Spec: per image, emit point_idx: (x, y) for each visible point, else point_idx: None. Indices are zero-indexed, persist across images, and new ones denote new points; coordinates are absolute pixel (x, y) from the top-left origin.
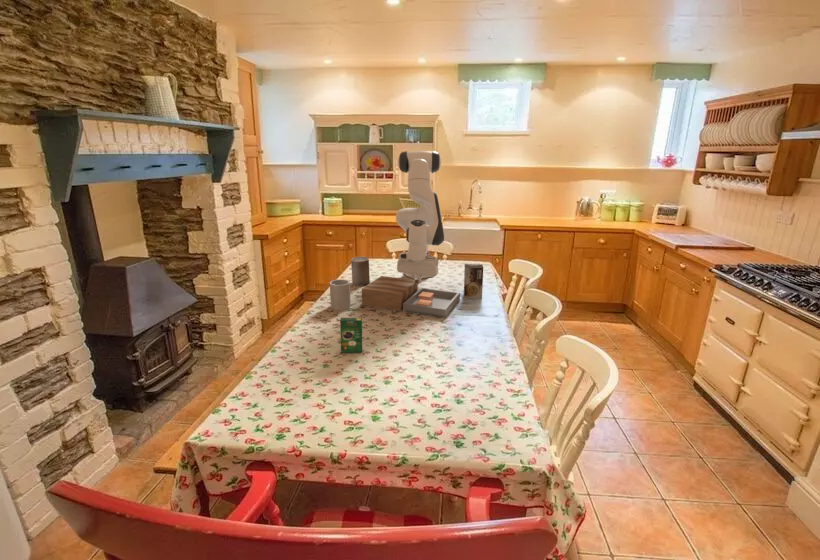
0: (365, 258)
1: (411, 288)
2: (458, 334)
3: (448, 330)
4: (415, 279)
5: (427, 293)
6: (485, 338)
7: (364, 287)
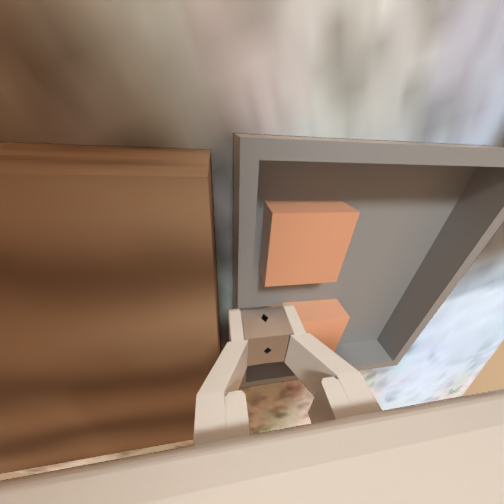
0: None
1: (217, 319)
2: (395, 379)
3: (376, 376)
4: (248, 363)
5: (314, 235)
6: (446, 370)
7: None
